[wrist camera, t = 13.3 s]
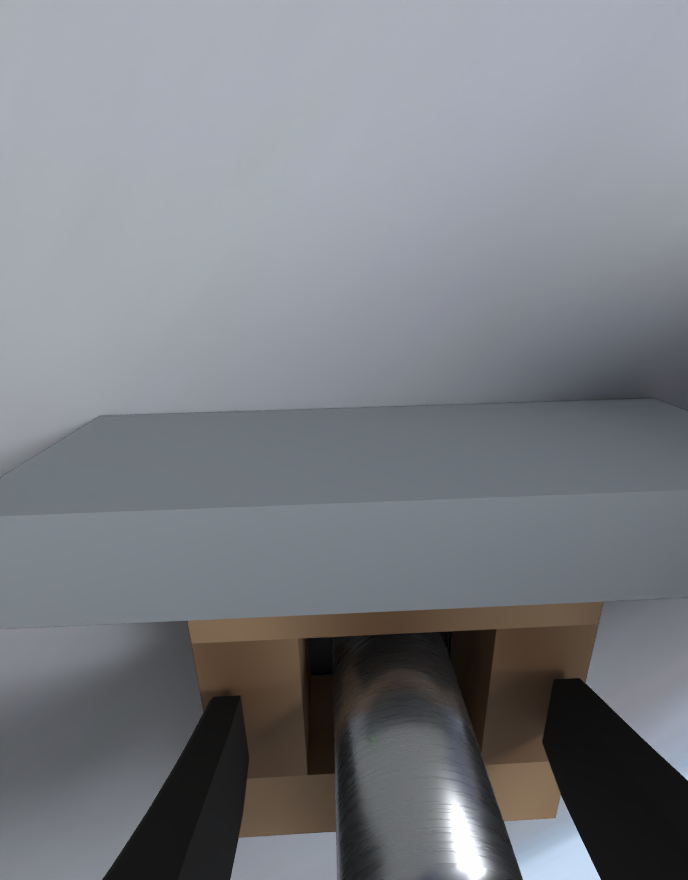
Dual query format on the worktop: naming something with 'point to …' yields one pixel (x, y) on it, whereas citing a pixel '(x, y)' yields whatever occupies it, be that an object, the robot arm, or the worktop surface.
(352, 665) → the dowel
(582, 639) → the block
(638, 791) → the robot arm
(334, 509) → the wall
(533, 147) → the worktop surface
